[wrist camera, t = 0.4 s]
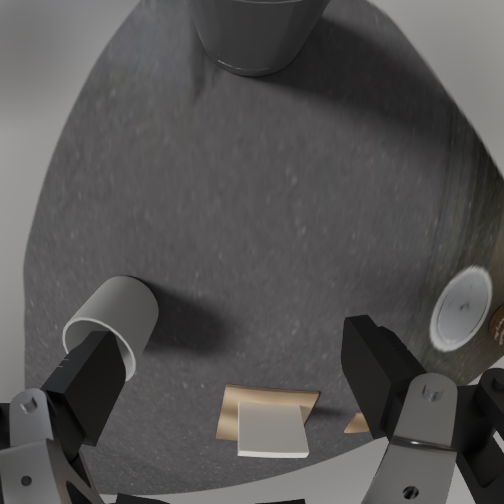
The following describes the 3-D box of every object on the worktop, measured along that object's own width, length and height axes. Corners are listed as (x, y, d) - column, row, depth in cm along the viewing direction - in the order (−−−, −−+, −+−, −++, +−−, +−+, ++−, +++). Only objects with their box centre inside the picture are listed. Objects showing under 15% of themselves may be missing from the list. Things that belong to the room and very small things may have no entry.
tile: (239, 400, 34) (239, 450, 26) (299, 405, 35) (309, 452, 27) (237, 407, 34) (237, 456, 27) (296, 411, 35) (305, 458, 28)
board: (226, 383, 34) (226, 386, 33) (318, 391, 35) (319, 394, 34) (215, 435, 37) (215, 438, 37) (293, 441, 38) (293, 443, 38)
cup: (173, 309, 30) (152, 363, 22) (121, 352, 32) (95, 402, 23) (125, 260, 28) (86, 301, 20) (78, 310, 30) (41, 354, 21)
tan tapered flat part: (378, 372, 34) (381, 378, 33) (403, 372, 35) (406, 377, 34) (344, 430, 38) (345, 436, 37) (367, 429, 39) (369, 434, 38)
